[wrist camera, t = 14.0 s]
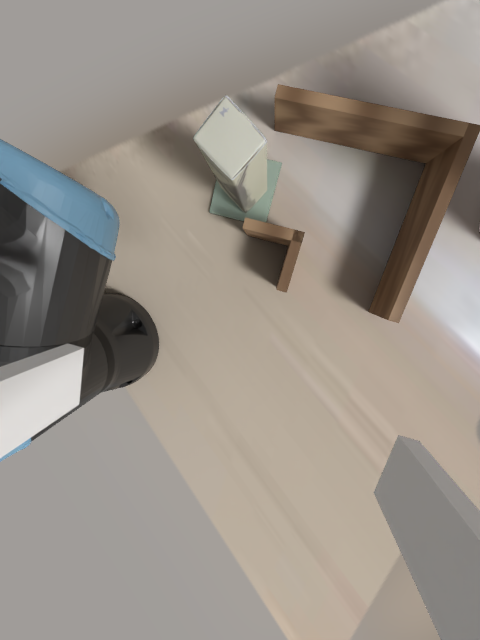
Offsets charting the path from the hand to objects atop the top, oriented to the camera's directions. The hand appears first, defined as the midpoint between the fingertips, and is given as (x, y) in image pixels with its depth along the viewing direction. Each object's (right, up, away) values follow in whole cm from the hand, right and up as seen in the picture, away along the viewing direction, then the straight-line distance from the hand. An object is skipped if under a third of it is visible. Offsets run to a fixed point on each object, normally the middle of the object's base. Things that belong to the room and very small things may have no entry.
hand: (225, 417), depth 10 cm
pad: (+1, +22, +23) cm, 32 cm away
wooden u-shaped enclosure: (+12, +17, +22) cm, 31 cm away
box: (+1, +22, +23) cm, 31 cm away
